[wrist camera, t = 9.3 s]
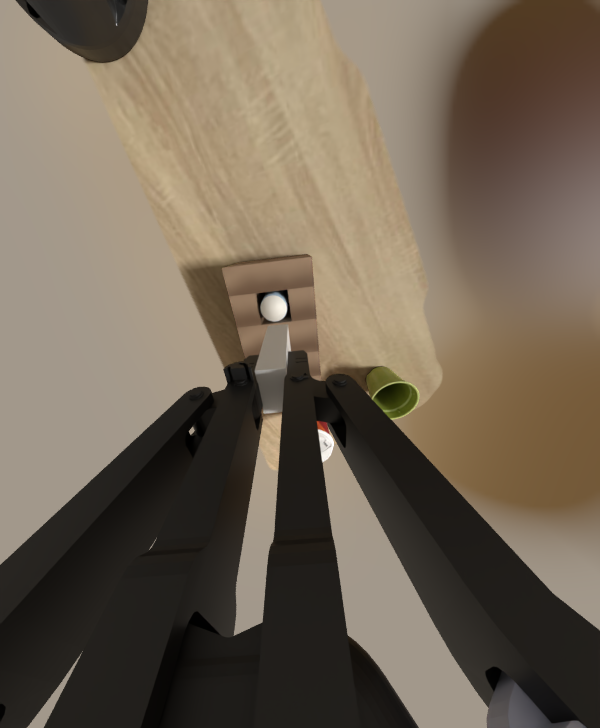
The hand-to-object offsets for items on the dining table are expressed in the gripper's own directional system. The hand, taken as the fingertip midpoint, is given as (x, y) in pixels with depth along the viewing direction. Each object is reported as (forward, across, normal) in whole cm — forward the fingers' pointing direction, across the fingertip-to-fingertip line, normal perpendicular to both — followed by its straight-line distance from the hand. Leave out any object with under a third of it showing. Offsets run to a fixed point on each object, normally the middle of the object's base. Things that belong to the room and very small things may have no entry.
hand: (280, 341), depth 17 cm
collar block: (+26, -2, -6) cm, 27 cm away
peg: (+26, -2, -1) cm, 26 cm away
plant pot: (+26, +19, -22) cm, 39 cm away
